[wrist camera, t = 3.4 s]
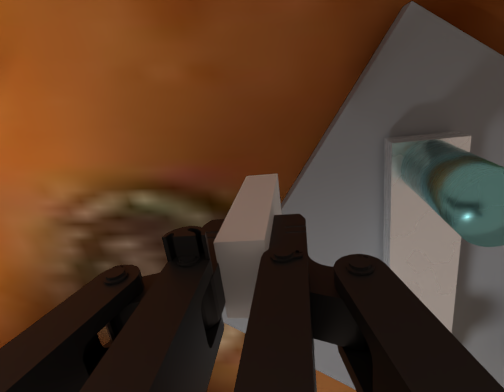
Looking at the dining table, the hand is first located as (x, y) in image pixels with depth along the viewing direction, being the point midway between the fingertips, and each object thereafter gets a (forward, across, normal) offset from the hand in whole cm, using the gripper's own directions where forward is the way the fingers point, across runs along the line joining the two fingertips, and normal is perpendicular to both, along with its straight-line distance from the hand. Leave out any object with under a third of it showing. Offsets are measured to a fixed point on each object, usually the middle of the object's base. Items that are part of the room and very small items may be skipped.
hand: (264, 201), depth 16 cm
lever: (+6, -9, +8) cm, 13 cm away
